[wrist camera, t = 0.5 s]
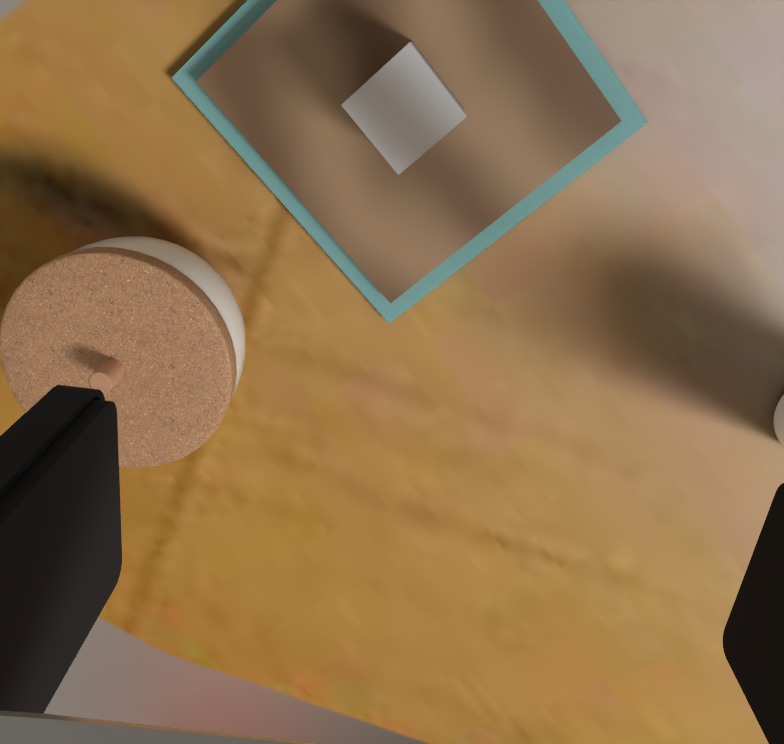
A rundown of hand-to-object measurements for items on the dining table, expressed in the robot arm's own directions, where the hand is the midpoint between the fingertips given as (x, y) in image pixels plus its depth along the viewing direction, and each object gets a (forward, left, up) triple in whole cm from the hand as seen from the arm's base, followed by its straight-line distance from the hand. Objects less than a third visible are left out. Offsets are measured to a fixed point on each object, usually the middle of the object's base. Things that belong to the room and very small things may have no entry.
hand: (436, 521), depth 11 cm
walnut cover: (-1, -4, -29) cm, 29 cm away
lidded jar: (+16, -4, -30) cm, 34 cm away
